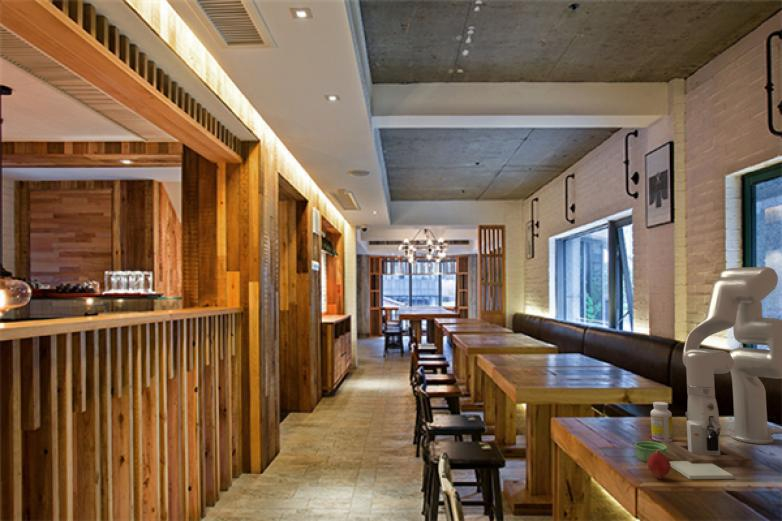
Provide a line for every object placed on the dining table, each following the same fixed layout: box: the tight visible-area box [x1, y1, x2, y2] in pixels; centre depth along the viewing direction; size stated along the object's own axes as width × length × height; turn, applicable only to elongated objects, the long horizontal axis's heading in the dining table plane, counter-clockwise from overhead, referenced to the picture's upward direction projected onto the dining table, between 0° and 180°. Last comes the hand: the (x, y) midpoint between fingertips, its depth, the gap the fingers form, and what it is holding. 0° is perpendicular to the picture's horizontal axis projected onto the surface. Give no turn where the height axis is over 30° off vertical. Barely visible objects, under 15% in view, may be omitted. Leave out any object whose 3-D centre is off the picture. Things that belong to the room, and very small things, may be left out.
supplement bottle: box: [650, 401, 674, 443], centre depth 182 cm, size 7×7×13 cm
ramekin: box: [634, 440, 667, 463], centre depth 162 cm, size 9×9×4 cm
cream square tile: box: [669, 460, 734, 480], centre depth 151 cm, size 12×12×1 cm
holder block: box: [660, 441, 753, 467], centre depth 164 cm, size 18×18×2 cm
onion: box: [646, 450, 672, 479], centre depth 146 cm, size 6×6×8 cm
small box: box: [686, 421, 721, 455], centre depth 164 cm, size 8×6×10 cm
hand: (703, 445), depth 164 cm, fingers open, 9 cm apart
